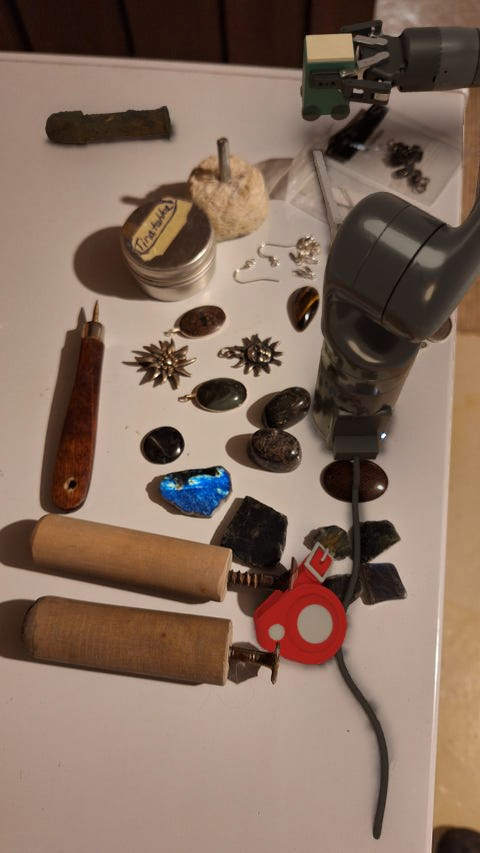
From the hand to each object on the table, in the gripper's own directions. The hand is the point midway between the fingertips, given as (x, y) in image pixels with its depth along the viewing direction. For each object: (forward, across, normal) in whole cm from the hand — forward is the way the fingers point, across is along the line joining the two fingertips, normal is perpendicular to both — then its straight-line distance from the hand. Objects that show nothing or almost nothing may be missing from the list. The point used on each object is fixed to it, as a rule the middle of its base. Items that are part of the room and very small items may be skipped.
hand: (308, 64), depth 85 cm
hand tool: (+30, -1, +12) cm, 32 cm away
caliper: (-3, +13, +12) cm, 18 cm away
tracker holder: (+3, +69, +12) cm, 70 cm away
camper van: (-3, 0, +7) cm, 7 cm away
